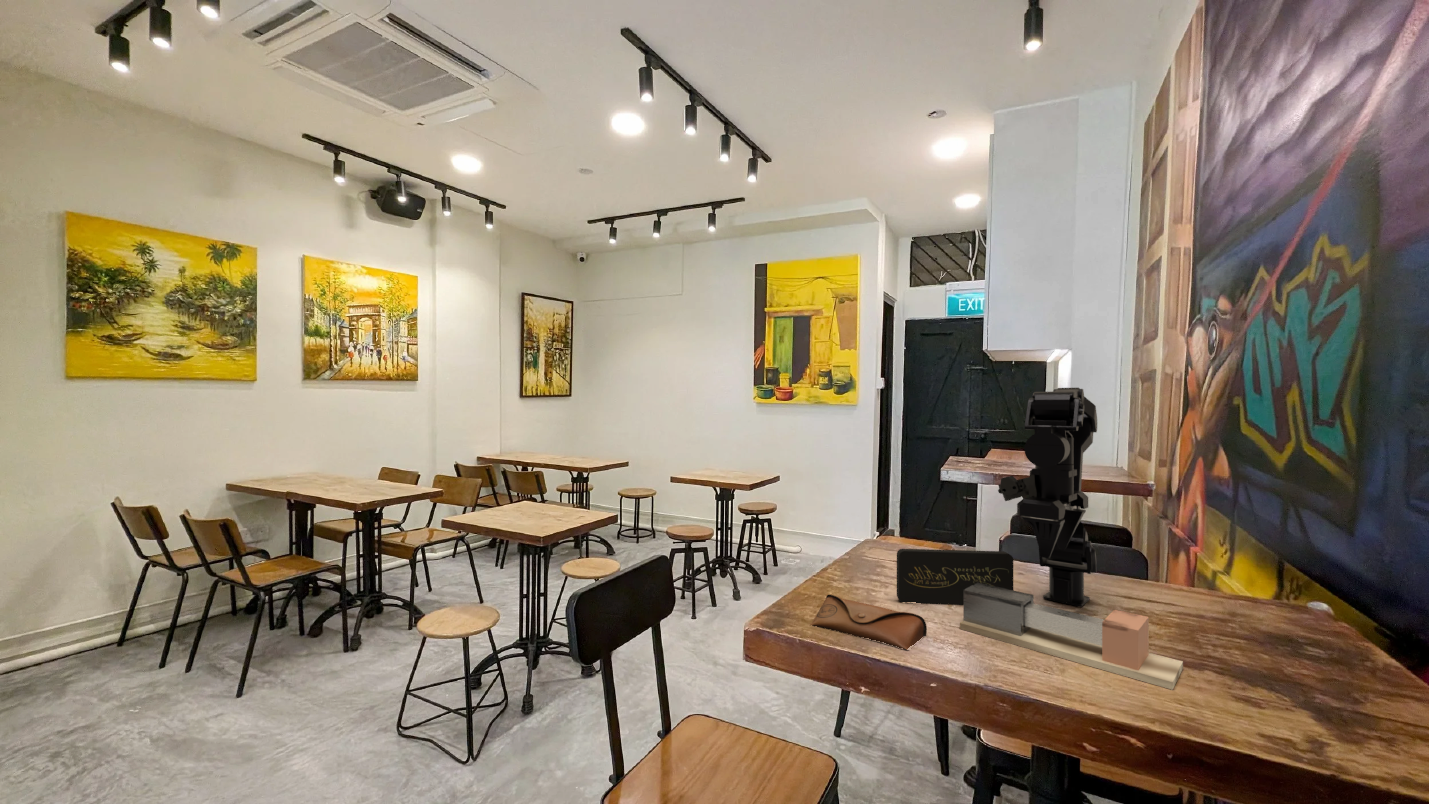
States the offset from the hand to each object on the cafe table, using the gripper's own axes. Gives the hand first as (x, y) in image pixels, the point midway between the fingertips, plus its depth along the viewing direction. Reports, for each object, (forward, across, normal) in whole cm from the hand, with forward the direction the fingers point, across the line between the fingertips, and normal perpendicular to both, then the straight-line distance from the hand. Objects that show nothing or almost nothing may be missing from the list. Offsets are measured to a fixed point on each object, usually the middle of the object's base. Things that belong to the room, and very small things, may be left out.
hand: (1054, 553), depth 98 cm
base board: (+12, +10, +4) cm, 16 cm away
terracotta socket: (+11, +10, +12) cm, 19 cm away
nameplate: (+12, +3, -16) cm, 21 cm away
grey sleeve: (+11, +11, -5) cm, 16 cm away
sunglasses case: (+13, +27, -21) cm, 36 cm away
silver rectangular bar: (+10, +11, +4) cm, 15 cm away
